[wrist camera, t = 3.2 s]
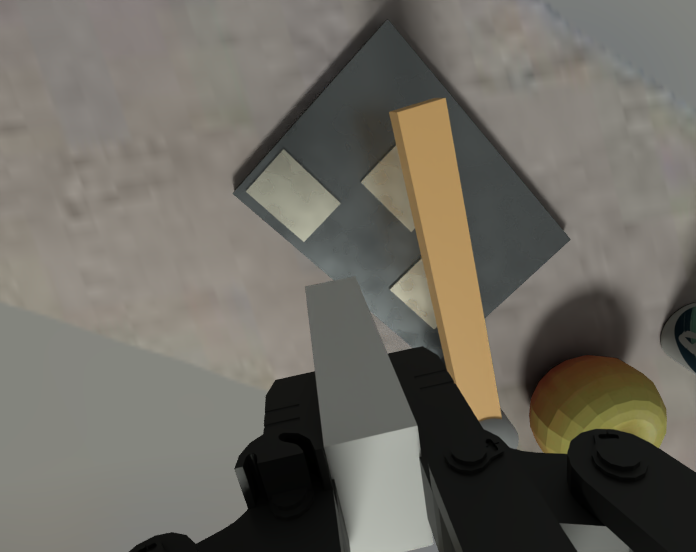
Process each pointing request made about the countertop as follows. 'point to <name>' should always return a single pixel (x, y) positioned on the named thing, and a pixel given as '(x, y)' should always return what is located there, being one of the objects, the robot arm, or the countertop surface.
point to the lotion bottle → (681, 337)
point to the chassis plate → (393, 193)
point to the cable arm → (449, 256)
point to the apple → (595, 402)
